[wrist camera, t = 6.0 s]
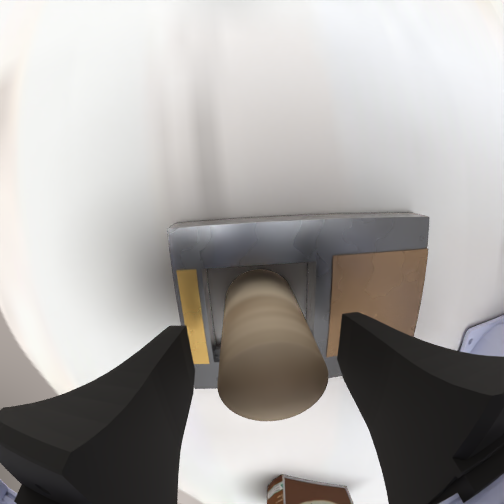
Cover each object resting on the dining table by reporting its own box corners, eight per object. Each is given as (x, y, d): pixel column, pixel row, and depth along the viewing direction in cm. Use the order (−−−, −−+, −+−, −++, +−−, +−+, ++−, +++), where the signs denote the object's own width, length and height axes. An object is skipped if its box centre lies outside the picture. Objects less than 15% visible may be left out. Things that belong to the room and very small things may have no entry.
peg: (292, 327, 13) (322, 414, 8) (228, 332, 13) (224, 423, 8) (292, 266, 13) (333, 335, 7) (222, 271, 13) (210, 345, 7)
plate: (394, 347, 14) (406, 362, 13) (198, 370, 14) (194, 389, 12) (412, 212, 12) (430, 217, 11) (175, 222, 12) (166, 229, 10)
